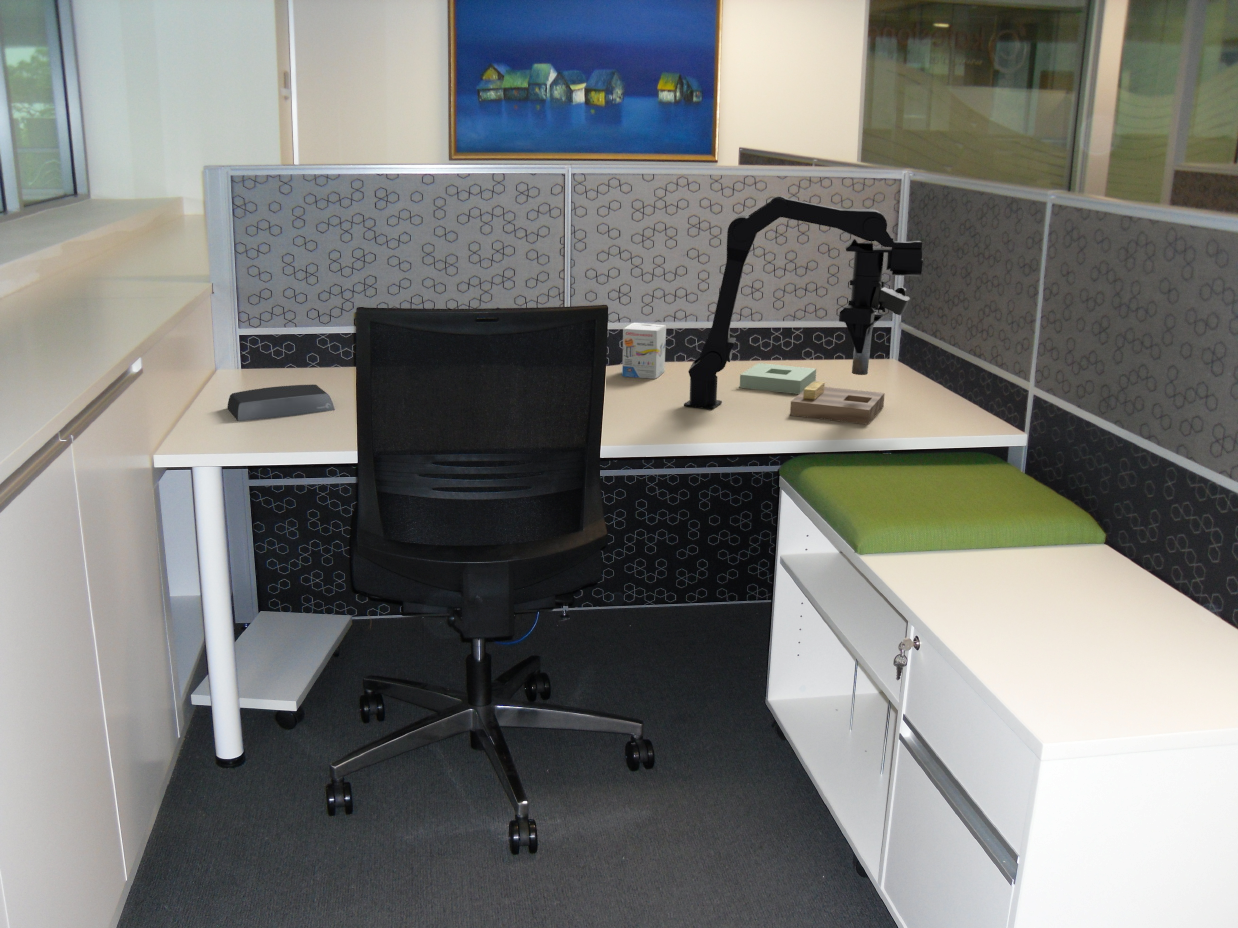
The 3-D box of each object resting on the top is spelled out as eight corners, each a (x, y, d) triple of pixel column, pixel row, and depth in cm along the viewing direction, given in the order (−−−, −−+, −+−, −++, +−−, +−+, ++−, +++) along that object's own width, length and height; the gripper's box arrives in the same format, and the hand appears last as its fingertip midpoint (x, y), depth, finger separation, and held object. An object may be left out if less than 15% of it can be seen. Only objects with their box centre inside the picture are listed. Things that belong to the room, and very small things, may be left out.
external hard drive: (336, 413, 218) (334, 393, 217) (238, 424, 209) (236, 404, 208) (320, 399, 229) (319, 380, 228) (226, 409, 220) (224, 390, 219)
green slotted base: (799, 394, 236) (800, 380, 235) (739, 387, 241) (740, 374, 240) (815, 381, 248) (816, 368, 247) (757, 375, 253) (758, 363, 252)
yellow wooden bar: (814, 399, 218) (815, 390, 217) (803, 398, 219) (803, 389, 218) (824, 391, 225) (824, 382, 224) (812, 390, 226) (813, 381, 225)
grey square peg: (866, 375, 216) (870, 327, 213) (850, 373, 217) (855, 325, 214) (868, 372, 219) (873, 324, 216) (853, 370, 220) (858, 323, 217)
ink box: (621, 376, 251) (621, 327, 247) (631, 369, 258) (631, 321, 255) (656, 379, 248) (657, 329, 245) (665, 372, 256) (666, 323, 253)
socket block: (868, 424, 212) (869, 410, 211) (790, 415, 218) (790, 401, 217) (883, 406, 226) (884, 392, 225) (809, 398, 232) (810, 385, 231)
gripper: (899, 283, 200) (892, 364, 205) (916, 272, 217) (909, 347, 221) (841, 279, 205) (835, 358, 210) (861, 268, 221) (855, 342, 226)
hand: (861, 351), depth 216 cm, fingers closed on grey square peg, 3 cm apart
